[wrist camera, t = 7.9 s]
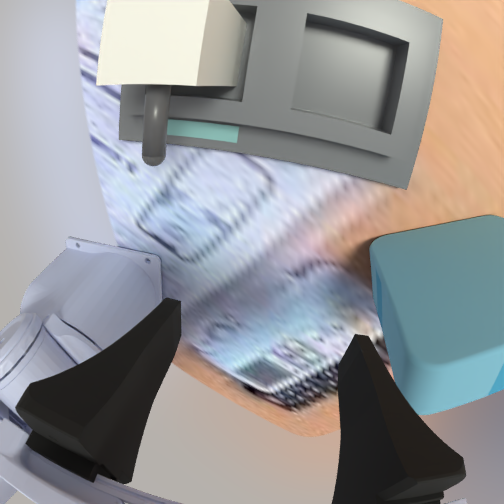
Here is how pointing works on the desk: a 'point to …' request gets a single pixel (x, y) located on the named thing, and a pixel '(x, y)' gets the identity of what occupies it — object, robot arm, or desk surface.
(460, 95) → the desk surface
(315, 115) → the jack panel
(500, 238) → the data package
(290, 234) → the desk surface
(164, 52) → the plug
